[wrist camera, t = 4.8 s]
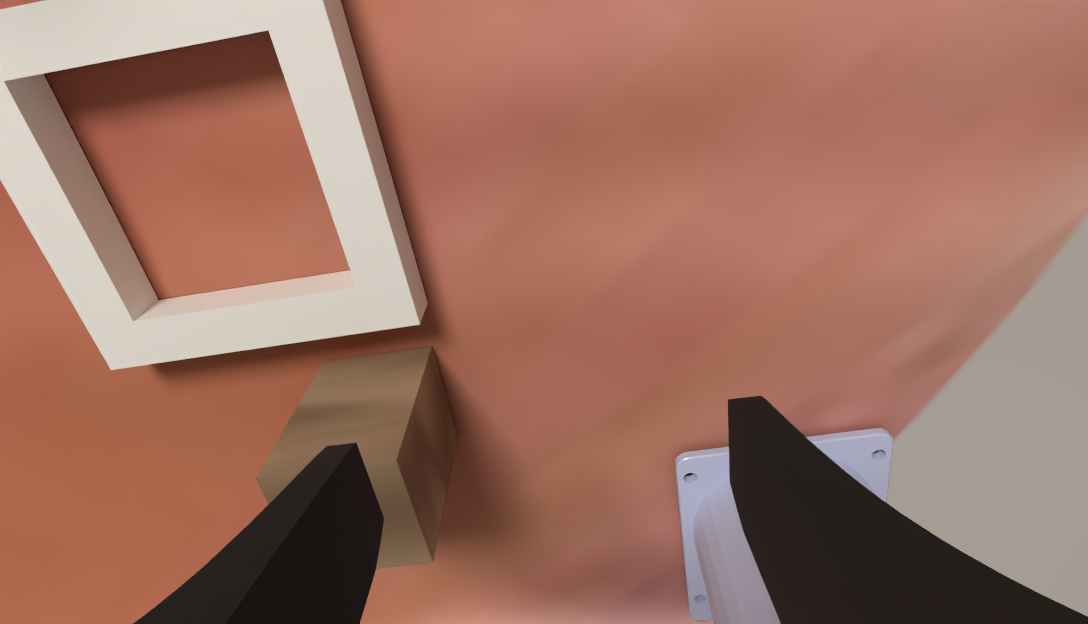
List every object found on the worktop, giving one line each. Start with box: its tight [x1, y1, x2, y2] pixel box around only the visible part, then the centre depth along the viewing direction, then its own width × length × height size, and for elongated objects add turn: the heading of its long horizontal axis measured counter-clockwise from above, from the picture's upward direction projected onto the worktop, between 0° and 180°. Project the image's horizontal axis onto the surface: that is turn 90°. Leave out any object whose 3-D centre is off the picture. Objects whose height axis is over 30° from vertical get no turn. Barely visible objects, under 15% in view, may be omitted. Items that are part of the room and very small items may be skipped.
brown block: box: [256, 346, 458, 569], centre depth 21 cm, size 4×4×6 cm
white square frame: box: [0, 0, 428, 370], centre depth 19 cm, size 11×11×2 cm
